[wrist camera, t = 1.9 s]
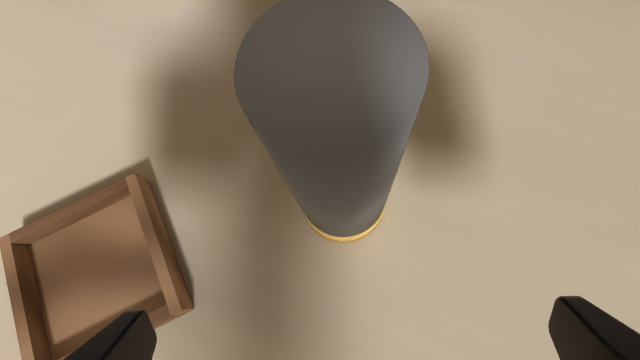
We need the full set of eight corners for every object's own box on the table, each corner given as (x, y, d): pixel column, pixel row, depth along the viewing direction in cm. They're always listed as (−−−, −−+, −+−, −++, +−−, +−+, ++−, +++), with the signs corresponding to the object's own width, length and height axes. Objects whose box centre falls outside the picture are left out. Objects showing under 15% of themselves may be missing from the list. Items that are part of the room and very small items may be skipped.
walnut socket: (194, 308, 20) (181, 310, 18) (51, 381, 19) (27, 388, 18) (148, 180, 22) (134, 172, 21) (21, 242, 22) (-2, 238, 20)
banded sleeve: (355, 258, 20) (359, 198, 7) (287, 212, 21) (192, 93, 8) (399, 190, 21) (469, 35, 8) (332, 149, 22) (306, -41, 9)
